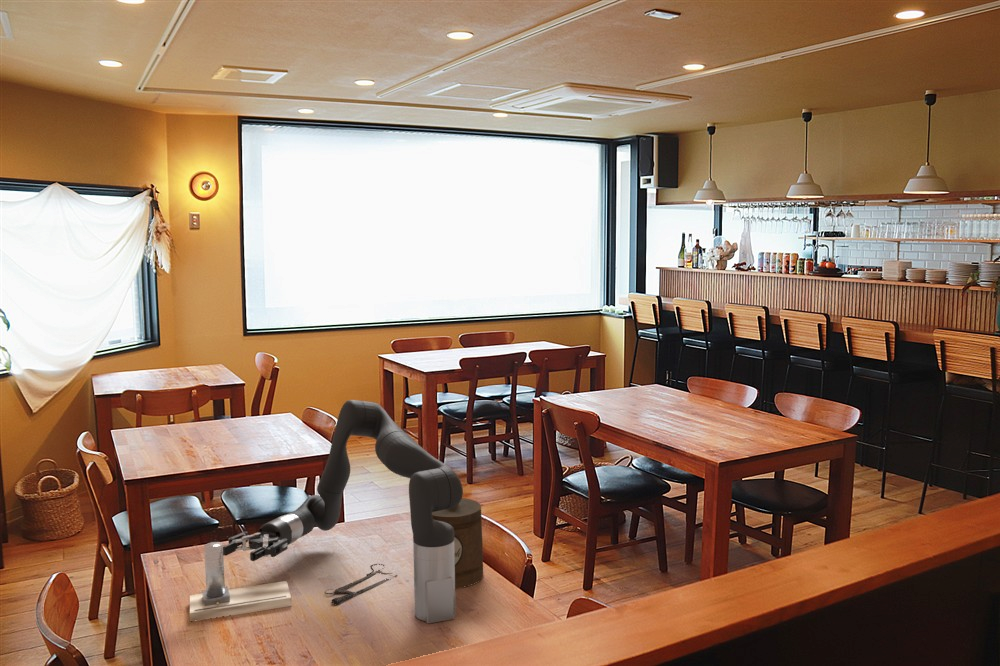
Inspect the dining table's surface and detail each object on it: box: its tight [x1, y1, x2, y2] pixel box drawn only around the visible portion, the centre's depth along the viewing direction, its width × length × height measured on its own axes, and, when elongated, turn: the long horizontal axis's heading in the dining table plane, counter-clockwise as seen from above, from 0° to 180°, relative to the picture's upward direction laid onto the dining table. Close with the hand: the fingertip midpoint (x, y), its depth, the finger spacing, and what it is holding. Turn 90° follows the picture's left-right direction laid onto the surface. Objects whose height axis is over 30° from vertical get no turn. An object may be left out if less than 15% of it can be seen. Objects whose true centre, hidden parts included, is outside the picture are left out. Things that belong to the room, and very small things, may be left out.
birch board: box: [189, 580, 292, 622], centre depth 193 cm, size 10×22×2 cm, turn 110°
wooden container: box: [432, 497, 484, 589], centre depth 207 cm, size 15×15×22 cm
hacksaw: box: [324, 563, 392, 606], centre depth 204 cm, size 24×10×2 cm, turn 143°
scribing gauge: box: [201, 541, 230, 606], centre depth 190 cm, size 7×6×13 cm
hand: (237, 554), depth 199 cm, fingers open, 8 cm apart
